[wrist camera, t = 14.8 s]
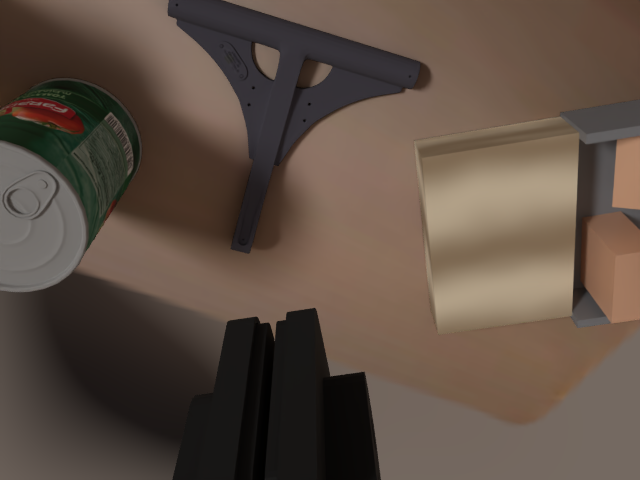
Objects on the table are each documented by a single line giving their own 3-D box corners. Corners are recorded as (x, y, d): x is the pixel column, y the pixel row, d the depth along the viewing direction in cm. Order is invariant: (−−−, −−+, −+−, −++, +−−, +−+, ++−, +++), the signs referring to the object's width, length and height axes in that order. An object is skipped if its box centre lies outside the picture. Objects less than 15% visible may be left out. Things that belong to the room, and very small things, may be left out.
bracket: (137, 213, 41) (126, 232, 38) (176, -17, 34) (166, -10, 32) (341, 263, 43) (343, 285, 41) (417, 58, 36) (425, 69, 34)
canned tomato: (84, 221, 40) (13, 320, 31) (-16, 131, 37) (-128, 210, 28) (169, 150, 38) (122, 233, 28) (71, 48, 35) (-19, 103, 25)
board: (414, 140, 38) (421, 158, 35) (560, 116, 37) (579, 132, 35) (430, 309, 44) (438, 334, 41) (556, 291, 43) (571, 315, 41)
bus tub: (560, 112, 37) (586, 134, 34) (703, 89, 37) (745, 108, 33) (555, 293, 44) (577, 327, 40) (677, 276, 43) (710, 309, 40)
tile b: (615, 255, 36) (659, 248, 36) (582, 217, 40) (620, 211, 40) (611, 323, 38) (652, 317, 38) (580, 280, 42) (616, 274, 42)
